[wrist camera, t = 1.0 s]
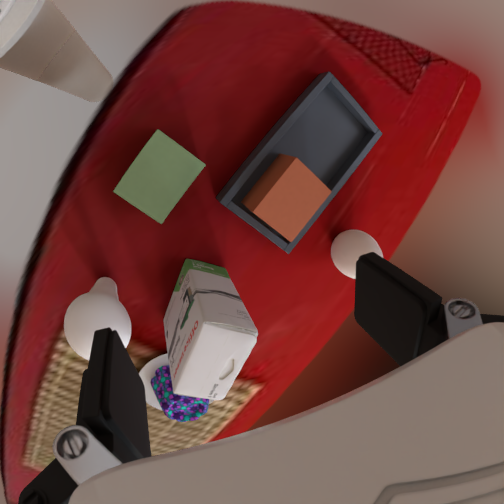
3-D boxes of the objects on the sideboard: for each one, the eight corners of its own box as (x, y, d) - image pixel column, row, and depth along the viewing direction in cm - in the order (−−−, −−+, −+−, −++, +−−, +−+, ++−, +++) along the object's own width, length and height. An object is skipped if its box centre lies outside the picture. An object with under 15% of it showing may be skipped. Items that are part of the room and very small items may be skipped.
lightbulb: (143, 297, 33) (144, 364, 23) (96, 315, 32) (84, 383, 22) (118, 249, 30) (106, 305, 20) (70, 270, 29) (43, 331, 19)
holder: (215, 197, 31) (219, 202, 29) (319, 73, 29) (329, 71, 27) (281, 247, 35) (288, 254, 34) (371, 132, 33) (382, 133, 31)
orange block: (240, 201, 31) (252, 212, 28) (279, 153, 31) (296, 157, 27) (276, 229, 34) (291, 242, 30) (313, 184, 33) (332, 191, 29)
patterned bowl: (163, 417, 40) (168, 444, 36) (119, 368, 35) (118, 397, 30) (236, 389, 42) (246, 416, 37) (202, 333, 37) (210, 361, 32)
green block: (118, 183, 27) (112, 191, 24) (157, 129, 27) (157, 128, 23) (160, 212, 30) (161, 224, 26) (199, 160, 29) (206, 164, 26)
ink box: (185, 255, 32) (203, 318, 22) (228, 268, 34) (262, 331, 24) (161, 321, 34) (170, 397, 24) (201, 330, 36) (223, 403, 26)
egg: (345, 267, 39) (380, 295, 33) (314, 256, 37) (348, 285, 30) (363, 230, 38) (402, 252, 31) (332, 216, 36) (371, 238, 29)
